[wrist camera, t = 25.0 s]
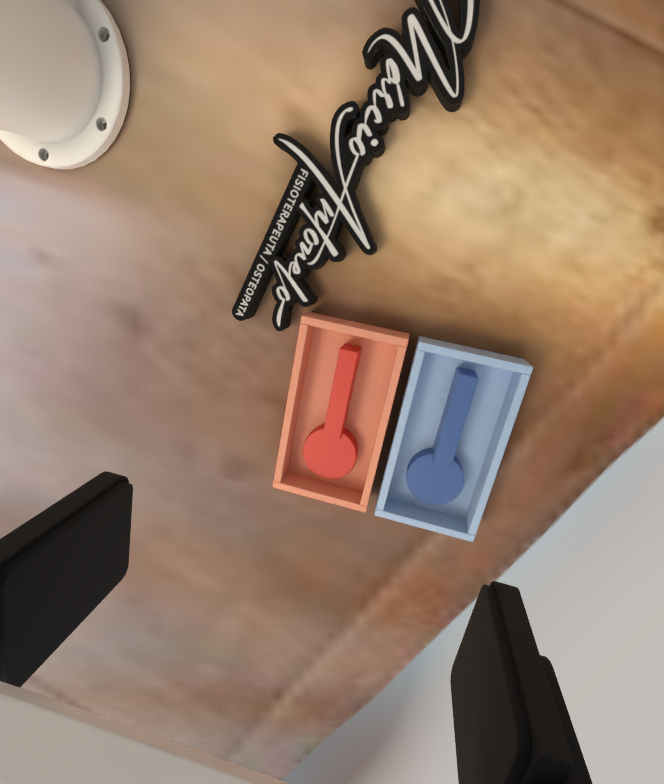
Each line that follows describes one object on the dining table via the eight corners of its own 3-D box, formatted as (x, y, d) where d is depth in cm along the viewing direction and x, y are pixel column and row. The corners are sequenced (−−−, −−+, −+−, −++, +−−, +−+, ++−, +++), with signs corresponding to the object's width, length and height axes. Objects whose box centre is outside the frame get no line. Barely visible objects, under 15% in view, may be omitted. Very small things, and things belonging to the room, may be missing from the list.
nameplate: (386, -133, 25) (541, -48, 24) (388, -111, 26) (535, -31, 26) (204, 300, 34) (317, 366, 33) (213, 299, 35) (321, 361, 35)
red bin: (310, 311, 34) (301, 315, 31) (409, 333, 33) (408, 339, 30) (281, 472, 38) (272, 487, 36) (369, 496, 37) (365, 513, 35)
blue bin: (418, 335, 33) (418, 341, 30) (524, 358, 32) (533, 366, 29) (377, 498, 37) (374, 515, 35) (469, 523, 36) (473, 542, 34)
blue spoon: (436, 361, 33) (437, 368, 31) (495, 375, 32) (501, 383, 30) (400, 489, 36) (399, 503, 34) (454, 503, 36) (456, 518, 33)
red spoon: (325, 338, 34) (319, 343, 32) (381, 351, 33) (379, 356, 31) (301, 465, 37) (295, 476, 35) (352, 478, 37) (348, 491, 34)
